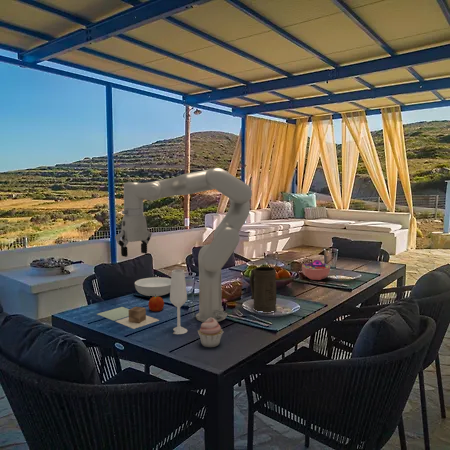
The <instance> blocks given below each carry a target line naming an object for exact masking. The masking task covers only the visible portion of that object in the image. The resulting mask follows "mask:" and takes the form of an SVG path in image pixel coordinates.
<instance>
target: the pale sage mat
mask: <svg viewBox="0 0 450 450" xmlns="http://www.w3.org/2000/svg"><path fill="white" fill-rule="evenodd" d="M130 309H131V308H130ZM130 309H129V308H127V307H124V306H120V307H116V308H112V309H110V310H105V311H103V312H102V311H101V312H99V313H96V316H101V317H103V318H106V319H108V320H111V321H117V320H121V319H124V318H127V317H129V311H128V310H130Z"/></svg>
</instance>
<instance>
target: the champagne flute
mask: <svg viewBox="0 0 450 450" xmlns="http://www.w3.org/2000/svg"><path fill="white" fill-rule="evenodd" d="M170 277H171V278H170V279H171V290H170V293H169V301H170V302H171V304H172V306H174V307H176V310H177V311H176V313H177V314H176V315H177V316H176V317H177V318H176V319H177V322H176V323H177V326H176V327H173V329H172V330H173V331H172V334H173V335H184V334H186V333H188V329H187V328H185V327H183V326H182V325H181V307H183V306H184V304H185V303H186V302H187V301H188V295H187V294H188V293H187V283H186V275H185V270H184V269H173V270H171V276H170Z"/></svg>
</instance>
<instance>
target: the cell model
mask: <svg viewBox="0 0 450 450" xmlns="http://www.w3.org/2000/svg"><path fill="white" fill-rule="evenodd" d="M301 271H302V274H303V275H304V276H305V277H306V278H308V279H309V280H313V281H321V280H323V279H326V278H327V277H329V275H330V272H331V266H330V264H328V263H323V261H321V260H319V259H314V260H313V261H312V262H305V263H302V265H301Z"/></svg>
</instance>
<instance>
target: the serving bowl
mask: <svg viewBox="0 0 450 450" xmlns="http://www.w3.org/2000/svg"><path fill="white" fill-rule="evenodd" d="M134 287H135V290H136V291H137V292H138V293H139V294H141V295H143V296H146V297H150V296H152V297H155V294H156V296H158V297H162V296H165V295H168V294H170V290H171V278H169V277H158V276H156V277H146V278H140V279H137V280H136V281H134ZM152 297H151V298H152Z"/></svg>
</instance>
